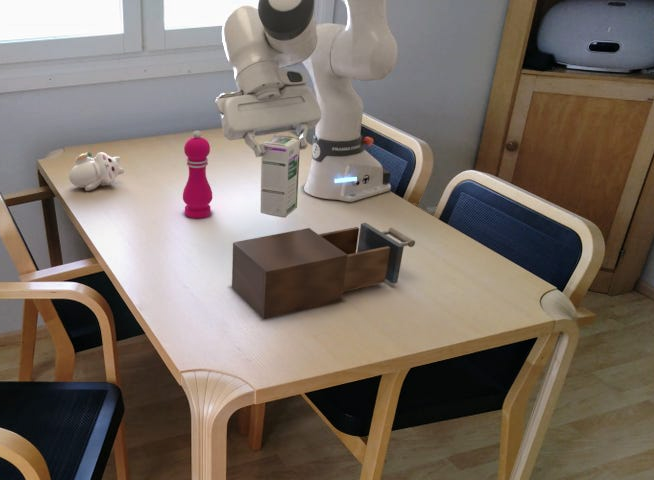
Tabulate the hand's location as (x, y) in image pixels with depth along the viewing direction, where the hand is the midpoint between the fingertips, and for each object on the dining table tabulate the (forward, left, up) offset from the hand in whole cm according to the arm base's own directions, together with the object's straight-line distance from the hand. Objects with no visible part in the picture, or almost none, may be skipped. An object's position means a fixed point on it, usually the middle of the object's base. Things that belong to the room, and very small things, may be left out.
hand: (282, 151), depth 131 cm
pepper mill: (+5, -31, -23) cm, 39 cm away
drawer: (-10, +14, -22) cm, 28 cm away
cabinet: (+6, +14, -23) cm, 28 cm away
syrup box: (0, -1, -13) cm, 13 cm away
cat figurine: (+22, -61, -23) cm, 69 cm away
